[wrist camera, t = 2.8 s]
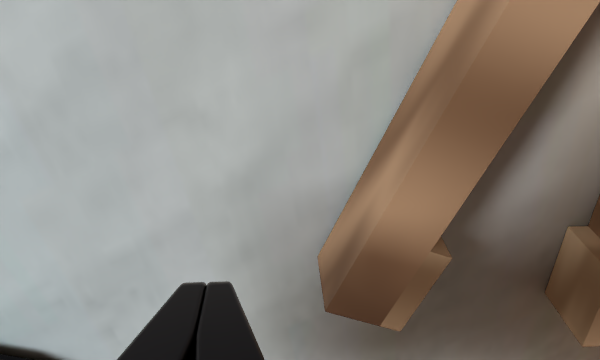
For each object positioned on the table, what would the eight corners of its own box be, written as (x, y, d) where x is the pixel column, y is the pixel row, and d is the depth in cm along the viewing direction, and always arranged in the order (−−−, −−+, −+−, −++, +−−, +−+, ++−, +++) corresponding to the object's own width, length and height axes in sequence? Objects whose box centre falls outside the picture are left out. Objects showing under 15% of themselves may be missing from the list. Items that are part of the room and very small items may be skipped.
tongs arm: (423, 288, 17) (459, 379, 14) (317, 256, 16) (330, 347, 13) (841, -309, 10) (1125, -409, 7) (692, -432, 9) (942, -624, 6)
